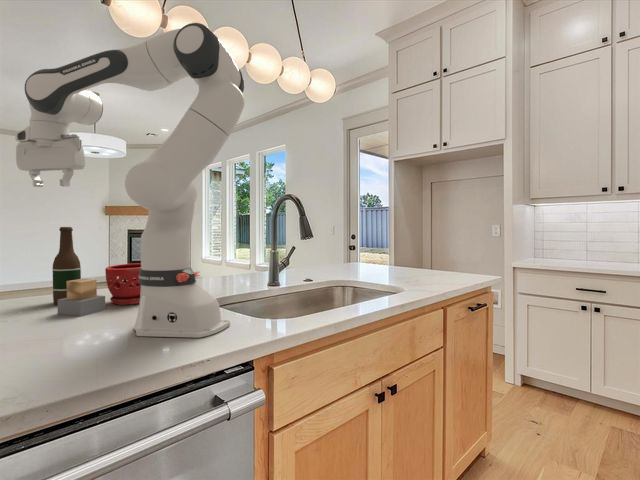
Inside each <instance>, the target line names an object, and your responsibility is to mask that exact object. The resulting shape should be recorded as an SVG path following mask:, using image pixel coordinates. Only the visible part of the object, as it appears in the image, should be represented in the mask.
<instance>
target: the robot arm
mask: <svg viewBox="0 0 640 480" xmlns="http://www.w3.org/2000/svg"><path fill="white" fill-rule="evenodd" d="M187 77H188V78H189V77H190V78H191V79H193V81H194V82H195V83H196V84H197V86H198V93H197V95H196V97H195V98H194V100H193V101H192V103H191V104H190V106H189V108H188V109H187V110H186V112H185V113H184V115H183V116H182V118H181V119H180V120H179V122H178V123H177V125H176V126H175V128H174V130H173V131H172V132H171V134H170V135H169V136H168V137H167V138H166V139H165V140H164V142H162V144H160V145H159V147H157V148H156V149H155V150H154V151H153V152H152V153H151V154H150V155H149V156H148V157H147V158H146V159H145V160H143V161H141V162H140V163H137V164H136V165H133V166H132V167H131V168H130V169H129V170H128V172H127V174H126V175H125V179H124V187H125V191H126V193H127V195H128V196H129V198H130V199H131V200H132V201H133V202H134V203H135V204H137V205H139V206H140V207H141V208H144V209H145V210H147V211H148V214H147V220H146V223H145V227H144V230H143V232H142V233H141V234H140V235H141V236H140V263H141V269H140V270H139V284H140V287H141V292H140V302H139V303H138V310H137V316H136V320H135V323H134V326H133V330H134V331H135V336H137V337H154V338H155V337H156V338H157V337H164V338H195V339H196V338H204V337H207V336H212V335H214V334H217V333H219V332H221V331H223V330H224V329H227V328H228V327H229V326H230V325H231V321H230V318H227V317H222V315H221V308H220V304H219V302H218V300H217V298H216V297H214V296H213V295H212V294H211V293H209V292H208V291H207V290H206V289H204V288H203V287H202V286H200V285H199V284H198V283H197V278H196V277H200V274H199V273H200V271H199V270H198V271H193V269H192V267H191V266H190V263H191V262H190V261H191V260H190V259H191V258H190V255H191V252H190V251H191V249H190V247H191V244H190V242H191V241H190V240H191V239H190V238H191V237H190V236H191V230H192V229H191V228H192V225H193V224H192V223H193V219H194V218H193V217H194V209H195V202H196V201H197V197H198V191H197V187H196V184H195V183H194V180H195V179H196V178H197V177H198V176H199V175H200V174H201V173H202V172H203V170H204V169H206V168H207V167H209V166H210V165H211V164H212V163H213V162H214V160H215V159H216V157H217V155H218V154H219V153H220V151H221V149H222V147H223V146H224V145H225V143H226V142H227V140H228V139H229V137H230V136H231V134H232V132H233V131H234V129H235V127H236V126H237V123H238V121H239V119H240V117H241V115H242V112H243V110H244V108H245V102H246V101H245V97H244V95H243V93H244V90H245V78H244V76H243V74H242V72H241V69H240V68H239V66H237V64H236V62H235V61H234V59H233V57H232V54H231V52H230V51H229V50H228V48H227V47H226V46H225V44H224V43H222V41H221V40H219V38H218V35H217V34H216V33H214V31H213V30H211V29H210V28H209V27H208V26H206V25H204V24H203V23H200V22H192V23H188V24H186V25H183V26H182V27H181V28H176V29H172V30H169V31H165V32H162V33H160V34H158V35H155V36H152V37H150V38H148V39H147V40H144V41H143V42H140V43H138V44H135V45H132V46H128V47H124V48H119V49H108V50H105V51H101V52H97V53H95V54H92V55H89V56H87V57H83V58H81V59H78V60H75V61H73V62H71V63H68V64H64V65H62V66H59V67H55V68H54V67H53V68H43V69H39V70H36V71H34V72H33V73H31V74H29V76H28V77H27V79H26V80H25V83H24V93H25V97H26V98H27V101H28V107H29V109H30V113H31V114H30V118H29V126H27V127H25V128H24V129H22V130H20V131H19V132H18V131H17V132H16V133H15V135H14V136H15V137H14V139H15V141H16V142H18V143H17V144H16V148H15V158H16V159H15V160H16V161H15V162H16V166H17V168H18V169H19V170H20V171H24V172H28V175H29V177H30V178H31V180H32V186H33V187H35V188H43V187H44V180H41V178H40V176H41V172H46V171H47V172H48V171H62V172H61V173H63V175H62V178H60V179H59V186H60V187H70V186H71V179H72V178H73V176H74V170H77V171H78V170H84V169H85V167H86V157H85V149H84V147H83V139H81V138H80V136H78V135H77V134H76V133H75V134H70V133H71V128H70V127H71V126H70V125H71V124H72V123H77V124H79V125H84V126H85V125H87V126H92V125H95V124H97V123H98V122H99V120H100V119H101V118H102V115H103V112H104V104H103V102H102V99H101V97H100V96H99V95H98V94H97V93H95V92H93V91H92V90H90V89H93V88H95V87H98V86H100V85H104V84H118V85H125V86H129V87H131V88H132V87H133V88H135V89H139V90H142V91H148V92H153V91H158V90H162V89H164V88H167V87H169V86H171V85H172V84H175V83H177V82H179V81H180V80H182V79H185V78H187Z"/></svg>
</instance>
